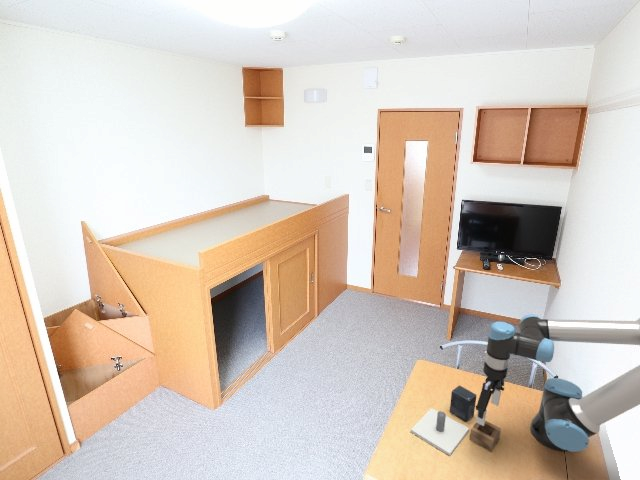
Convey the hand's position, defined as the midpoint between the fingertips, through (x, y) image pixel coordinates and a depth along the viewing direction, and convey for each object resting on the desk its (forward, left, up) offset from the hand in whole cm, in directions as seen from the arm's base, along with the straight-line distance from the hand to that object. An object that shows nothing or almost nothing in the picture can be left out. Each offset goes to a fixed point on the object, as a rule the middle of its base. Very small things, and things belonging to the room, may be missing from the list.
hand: (487, 413), depth 142 cm
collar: (0, 0, -12) cm, 12 cm away
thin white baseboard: (+14, +8, -12) cm, 20 cm away
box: (+12, -7, -12) cm, 18 cm away
